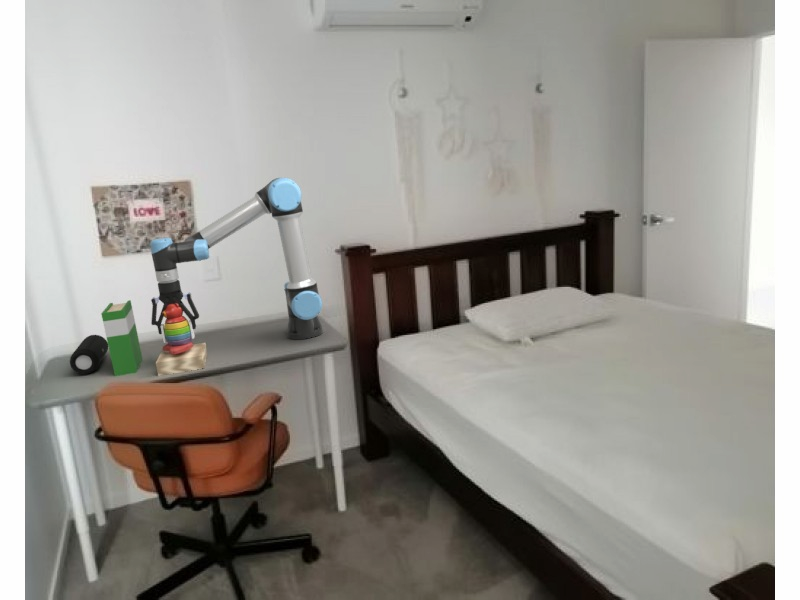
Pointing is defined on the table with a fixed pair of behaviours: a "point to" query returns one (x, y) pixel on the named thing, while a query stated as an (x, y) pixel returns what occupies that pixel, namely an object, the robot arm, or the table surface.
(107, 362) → the table surface
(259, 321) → the table surface
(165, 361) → the wooden block
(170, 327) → the stacking bear
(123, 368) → the hardback book
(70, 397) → the table surface
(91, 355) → the portable speaker
